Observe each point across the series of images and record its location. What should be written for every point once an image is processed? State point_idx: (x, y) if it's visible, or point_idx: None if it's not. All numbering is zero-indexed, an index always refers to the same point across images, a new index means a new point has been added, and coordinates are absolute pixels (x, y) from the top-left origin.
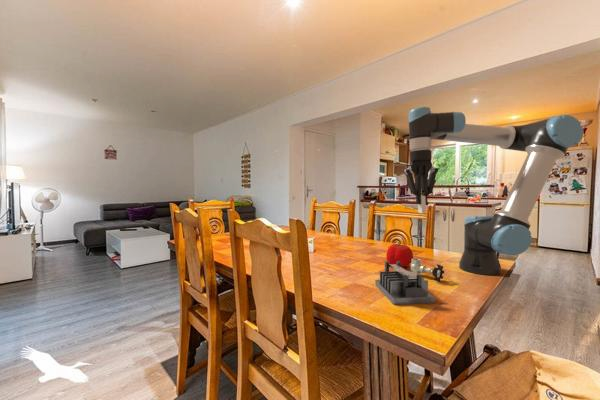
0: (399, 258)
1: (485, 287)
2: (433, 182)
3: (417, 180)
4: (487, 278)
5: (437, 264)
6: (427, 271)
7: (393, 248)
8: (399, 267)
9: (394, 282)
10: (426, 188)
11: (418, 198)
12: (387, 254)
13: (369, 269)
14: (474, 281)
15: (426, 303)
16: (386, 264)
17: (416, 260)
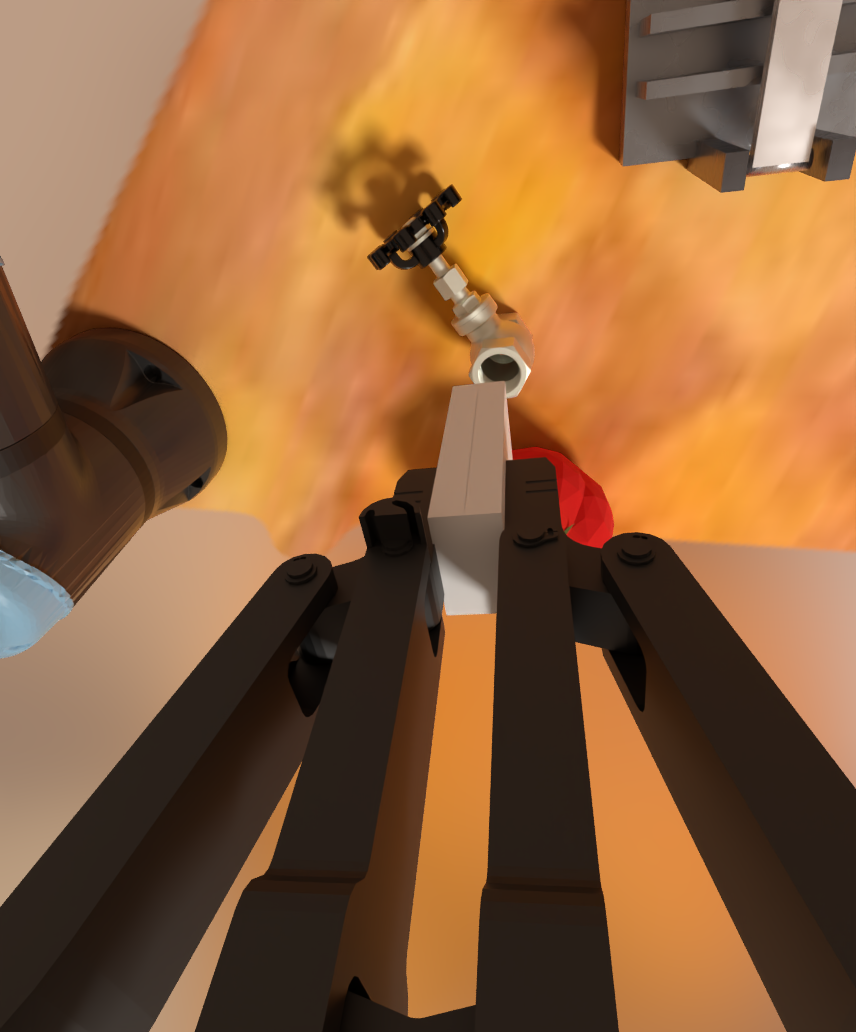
0: (562, 463)
1: (196, 109)
2: (167, 729)
3: (593, 817)
4: (141, 274)
5: (409, 245)
6: (463, 275)
7: (584, 534)
8: (788, 42)
9: None
10: (375, 620)
11: (546, 511)
12: (612, 525)
13: (737, 445)
14: (222, 221)
15: None
16: (851, 137)
17: (508, 348)
